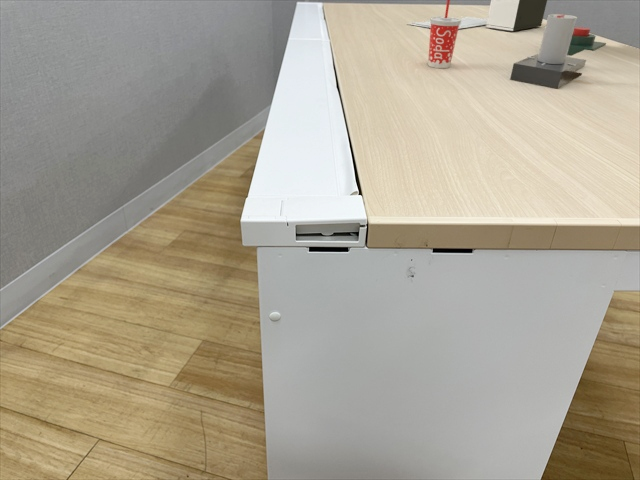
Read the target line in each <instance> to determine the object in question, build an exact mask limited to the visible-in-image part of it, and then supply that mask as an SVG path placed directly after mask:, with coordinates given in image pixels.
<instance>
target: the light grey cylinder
mask: <svg viewBox="0 0 640 480" xmlns="http://www.w3.org/2000/svg"><path fill="white" fill-rule="evenodd" d="M577 21H578V16H576V15H570V14H563V13H561V14H559V13H552V14H548V16H547V19H546V23H545V27H544V30H543V35H542V39H541V43H540V46H539V51H538V53H537V54H538V58H537V60H538V61H539V62H543V63H548V64H564V63H565V60H566V57H568V55H567V53H568V50H569V46H570V42H571V39H572V35H573V32H574V28H575V27H576V25H577Z"/></svg>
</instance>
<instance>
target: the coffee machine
mask: <svg viewBox="0 0 640 480" xmlns="http://www.w3.org/2000/svg"><path fill="white" fill-rule="evenodd" d="M547 3H548V0H490V4H489V9H488V15H487V18H479V17H474V16H466V17H465V18H462V19H461V25H459V28H458V30H461V29H467V28H473V27H480V26H485V27H486V28H489V29H490V30H494V31H502V32H515V31H520V30H526V29H531V28H532V29H533V28H537V27H542V24H543V20H544V16H545V11H546V7H547ZM408 25H409V26H416V27H420V28H421V27H422V28H427V29H431V23H430V20H426V21H425V20H424V21H419V22H411V23H408Z"/></svg>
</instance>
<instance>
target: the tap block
mask: <svg viewBox="0 0 640 480" xmlns="http://www.w3.org/2000/svg"><path fill="white" fill-rule="evenodd" d="M538 54H539V53H537V54H534V55H531V56H526V58H523V59H521V60H518V61H516V62H513V65H512V68H511V73H510V78H509V80H512V81H517V82H521V83H525V84H533V85H538V86H542V87H546V88H552V89H559V88H561V87H563V86H565V85H567V84H568V83H570V82H572V81H574V80H576V79H579V78H580V77H581V76H583V73H582V72H576V71H578V70H581V69H582V68H584V67H585V65H586V63H587V59H585V58H584V59H583V58H578V57H572V56H567V57H566V60H565V63H564V64H548V63H543V62H539V61H538V60H537V58H538Z"/></svg>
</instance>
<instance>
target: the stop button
mask: <svg viewBox="0 0 640 480" xmlns="http://www.w3.org/2000/svg"><path fill="white" fill-rule="evenodd" d="M590 32H591V28H589V27H583V26H582V27H581V26H575V28H574V32H573V35H576V36H588V35H589V34H590Z"/></svg>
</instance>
